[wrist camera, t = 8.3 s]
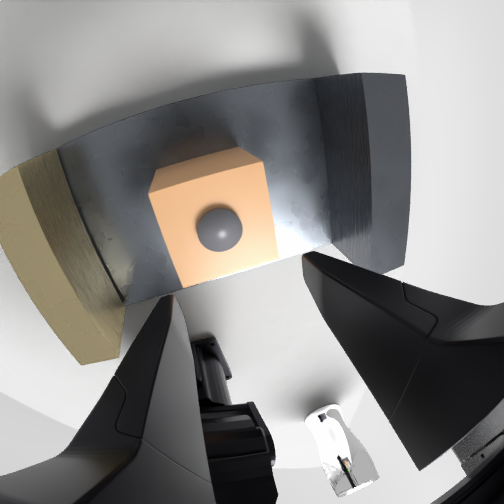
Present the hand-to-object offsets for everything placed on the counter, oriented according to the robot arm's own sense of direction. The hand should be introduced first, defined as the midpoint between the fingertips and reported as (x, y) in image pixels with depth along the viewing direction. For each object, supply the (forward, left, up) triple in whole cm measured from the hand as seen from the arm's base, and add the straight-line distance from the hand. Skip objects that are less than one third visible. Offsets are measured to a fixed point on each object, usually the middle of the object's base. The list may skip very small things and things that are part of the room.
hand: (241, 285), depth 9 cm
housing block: (0, 0, -10) cm, 10 cm away
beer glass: (-39, -8, -11) cm, 41 cm away
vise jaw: (0, +10, -9) cm, 13 cm away
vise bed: (0, 0, -11) cm, 11 cm away
